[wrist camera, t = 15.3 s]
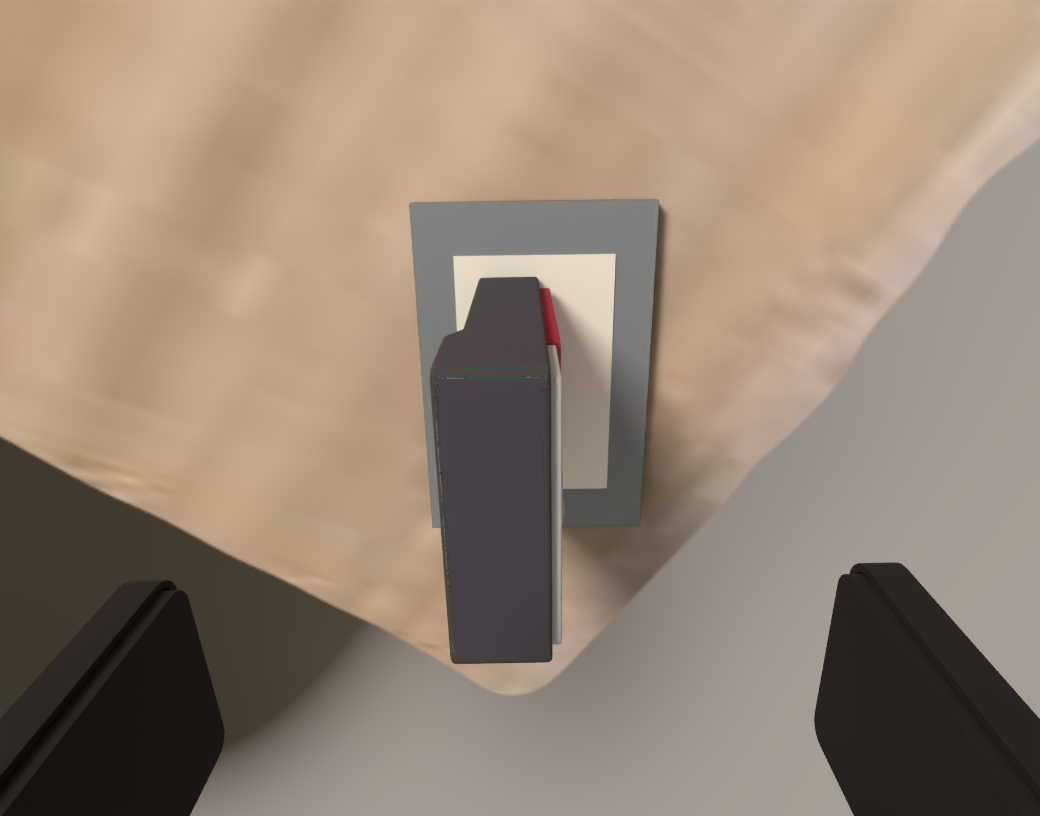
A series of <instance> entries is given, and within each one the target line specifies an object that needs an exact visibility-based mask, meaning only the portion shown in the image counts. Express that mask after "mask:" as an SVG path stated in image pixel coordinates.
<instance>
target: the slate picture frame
mask: <svg viewBox="0 0 1040 816" xmlns="http://www.w3.org/2000/svg"><path fill="white" fill-rule="evenodd" d="M409 207H410V221H411V235H412V249H413V263H414V277H415V291H416V305H417V319H418V333H419V347H420V360H421V374H422V388H423V402H424V416H425V430H426V444H427V458H428V472H429V486H430V500H431V513H432V527H433V528H441V523H440V510H439V497H438V483H437V470H436V457H435V444H434V430H433V417H432V404H431V391H430V369H431V366H432V364H433V361H434V359H435V357H436V354H437V352H438V349H439V347H440V344H441V342H442V340H443V338H444V337H445V336H447V335H449V334H452V333H455V332H457V331H460V330H463V328H464V325H465V322H466V319H467V316H468V313H469V310H470V307H471V303H472V300H473V297H474V294H475V291H476V288H477V285H478V281H479V279H480V278H491V277H537V278H538V282H539V288H549V289H550V293H551V298H552V303H553V307H554V312H555V317H556V321H557V326H558V331H559V335H560V341H561V376H562V471H563V501H564V515H563V523H562V526H635V525H640V511H641V495H642V478H643V461H644V445H645V428H646V411H647V395H648V378H649V361H650V344H651V328H652V311H653V294H654V278H655V261H656V244H657V228H658V211H659V200H657V199H611V200H543V201H475V202H412V203H410V204H409Z"/></svg>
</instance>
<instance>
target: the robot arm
mask: <svg viewBox="0 0 1040 816" xmlns="http://www.w3.org/2000/svg"><path fill="white" fill-rule="evenodd" d="M814 722H815V730H816V735H817V738H818V741H819V744H820V746H821V748H822V750H823V752H824V754H825V756H826V758H827V761H828V763H829V765H830V767H831V769H832V771H833V773H834V775H835V777H836V779H837V781H838V783H839V786H840V788H841V790H842V791H843V794H844V796H845V798H846V800H847V802H848V804H849V806H850V808H851V810H852V812H853V814H854V816H1040V719H1039V718H1038V717H1037V715H1036V714H1035V713H1034V712H1033V711H1032V710H1031V709H1030V708H1029V706H1028V705H1027V704H1026V703H1025V702H1024V701H1023V700H1022V699H1021V697H1020V696H1019V695H1018V694H1017V693H1016V692H1015V691H1014V689H1013V688H1012V687H1011V686H1010V685H1009V684H1008V683H1007V681H1006V680H1005V679H1004V678H1003V677H1002V676H1001V675H1000V674H999V672H998V671H997V670H996V669H995V668H994V667H993V666H992V665H991V663H990V662H989V661H988V660H987V659H986V658H985V656H984V655H983V654H982V653H981V652H980V651H979V650H978V649H977V648H976V646H975V645H974V644H973V643H972V642H971V641H970V639H969V638H968V637H967V636H966V635H965V634H964V633H963V632H962V630H961V629H960V628H959V627H958V626H957V625H956V624H955V622H954V621H953V620H952V619H951V618H950V617H949V616H948V615H947V614H946V612H945V611H944V610H943V609H942V608H941V607H940V605H939V604H938V603H936V601H935V600H934V599H933V598H932V597H931V595H930V594H929V593H928V592H927V591H926V590H925V588H924V587H923V586H922V585H921V584H920V583H919V582H918V580H917V579H916V578H915V577H914V576H913V575H912V574H911V573H910V571H908V569H907V568H906V567H905V566H903V565H902V564H900V563H858V564H855V565H854V566H853V567H852V569H851V571H850V574H844V575H842V576H841V577H840V578H839V581H838V586H837V591H836V597H835V602H834V608H833V614H832V619H831V625H830V631H829V636H828V642H827V647H826V654H825V659H824V664H823V670H822V676H821V681H820V687H819V693H818V698H817V704H816V710H815V717H814ZM223 742H224V726H223V722H222V718H221V714H220V711H219V707H218V703H217V700H216V696H215V693H214V689H213V685H212V682H211V679H210V675H209V671H208V668H207V664H206V660H205V657H204V653H203V649H202V646H201V642H200V639H199V635H198V631H197V628H196V624H195V620H194V617H193V614H192V610H191V606H190V602H189V599H188V596H187V594H186V593H185V592H184V591H182V590H177V588H176V586H175V585H174V584H173V582H171V581H168V580H158V581H157V580H155V581H154V580H153V581H129V582H125V583H124V584H123V585H121V586H120V587H119V588H118V589H117V590H116V592H114V593H113V595H112V596H111V597H110V598H109V599H108V600H107V601H106V602H105V603H104V605H103V606H102V607H101V608H100V609H99V610H98V611H97V612H96V614H94V616H93V617H92V618H91V619H90V620H89V621H88V622H87V623H86V624H85V625H84V627H83V628H82V629H81V630H80V631H79V632H78V633H77V634H76V635H75V637H74V638H73V639H72V640H71V641H70V642H69V643H68V644H67V645H66V646H65V648H64V649H63V650H62V651H61V652H60V653H59V654H58V656H57V657H56V658H55V659H54V660H53V661H52V662H51V663H50V664H49V665H48V666H47V667H46V669H45V670H44V671H43V672H42V673H41V674H40V675H39V676H38V677H37V678H36V680H35V681H34V682H33V683H32V684H31V685H30V686H29V687H28V688H27V690H26V691H25V692H24V693H23V694H22V695H21V696H20V697H19V698H18V699H17V701H16V702H15V703H14V704H13V705H12V706H11V707H10V708H9V709H8V710H7V712H6V713H5V714H4V715H3V716H2V717H1V718H0V816H190V814H191V812H192V810H193V808H194V806H195V804H196V802H197V800H198V798H199V796H200V794H201V792H202V790H203V788H204V785H205V784H206V782H207V780H208V778H209V776H210V774H211V772H212V770H213V768H214V766H215V764H216V762H217V760H218V758H219V755H220V753H221V751H222V747H223Z"/></svg>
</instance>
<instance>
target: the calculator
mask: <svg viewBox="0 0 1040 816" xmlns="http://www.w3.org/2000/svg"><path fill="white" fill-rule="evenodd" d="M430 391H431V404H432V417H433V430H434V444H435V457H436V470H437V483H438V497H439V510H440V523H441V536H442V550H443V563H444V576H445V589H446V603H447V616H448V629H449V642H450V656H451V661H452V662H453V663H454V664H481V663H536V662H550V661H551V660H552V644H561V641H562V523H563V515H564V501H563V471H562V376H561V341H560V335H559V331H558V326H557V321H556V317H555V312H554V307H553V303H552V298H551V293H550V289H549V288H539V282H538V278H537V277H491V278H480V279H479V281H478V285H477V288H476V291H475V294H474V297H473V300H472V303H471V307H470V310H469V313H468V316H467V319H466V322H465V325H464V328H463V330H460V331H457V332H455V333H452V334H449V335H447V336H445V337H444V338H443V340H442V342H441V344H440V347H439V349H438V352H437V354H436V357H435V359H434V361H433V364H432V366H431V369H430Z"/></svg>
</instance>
